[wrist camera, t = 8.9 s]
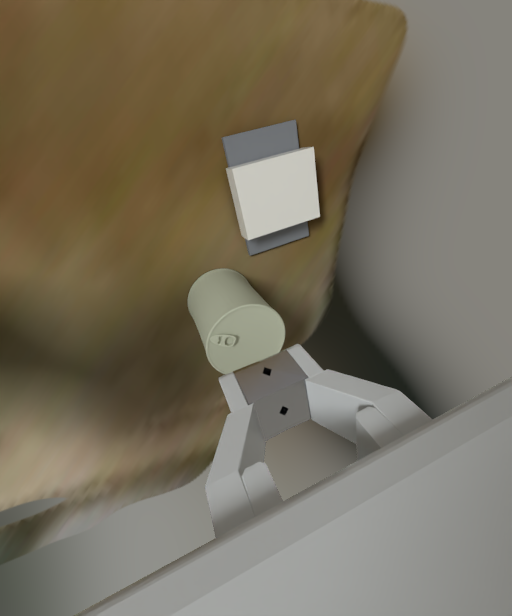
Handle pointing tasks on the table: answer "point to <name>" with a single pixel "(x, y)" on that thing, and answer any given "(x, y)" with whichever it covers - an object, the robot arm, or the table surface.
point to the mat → (258, 147)
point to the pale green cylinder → (233, 321)
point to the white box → (275, 192)
